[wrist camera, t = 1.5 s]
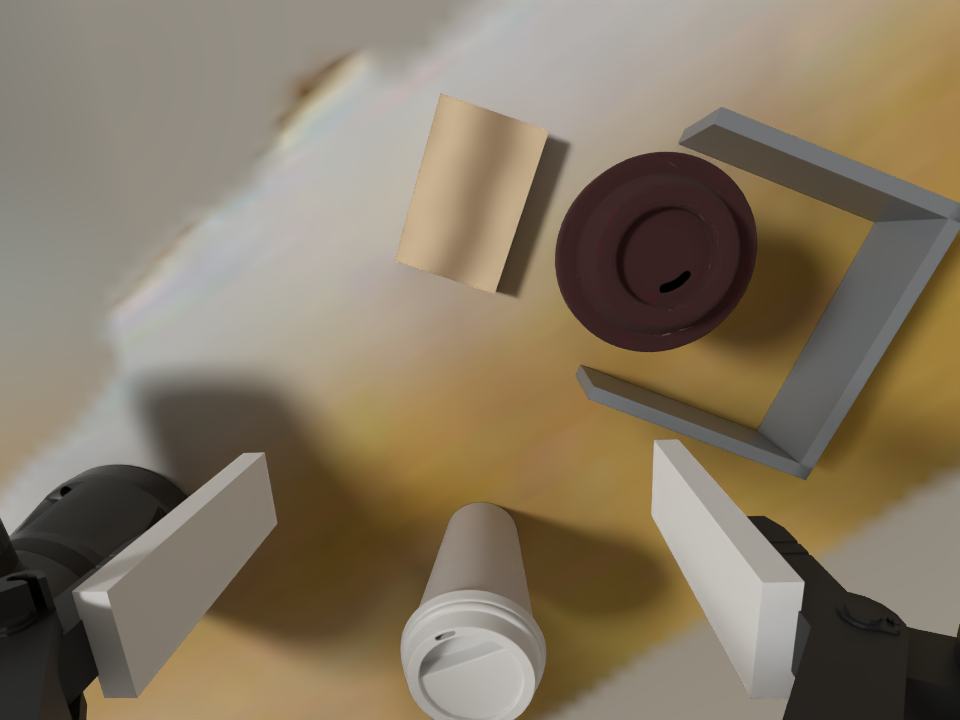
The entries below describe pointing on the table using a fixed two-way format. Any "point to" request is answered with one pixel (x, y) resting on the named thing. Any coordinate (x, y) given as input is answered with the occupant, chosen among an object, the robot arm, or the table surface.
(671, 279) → the coffee cup
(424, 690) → the coffee cup
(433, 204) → the board
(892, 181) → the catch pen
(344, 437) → the table surface
